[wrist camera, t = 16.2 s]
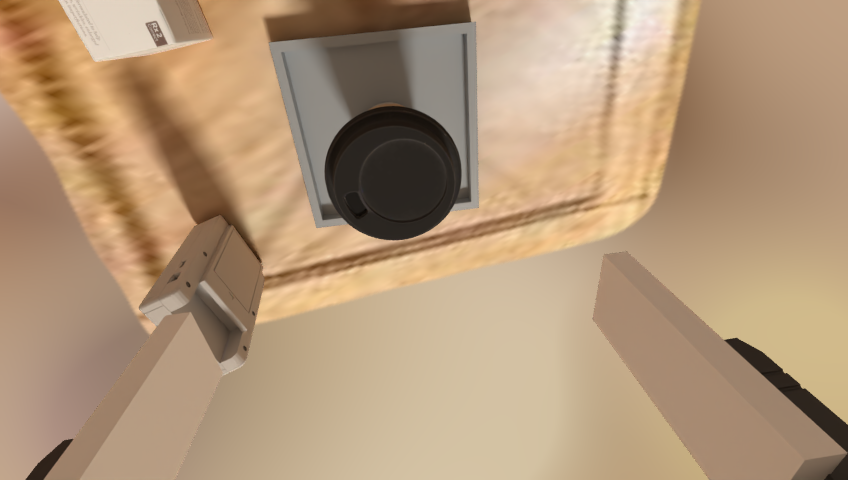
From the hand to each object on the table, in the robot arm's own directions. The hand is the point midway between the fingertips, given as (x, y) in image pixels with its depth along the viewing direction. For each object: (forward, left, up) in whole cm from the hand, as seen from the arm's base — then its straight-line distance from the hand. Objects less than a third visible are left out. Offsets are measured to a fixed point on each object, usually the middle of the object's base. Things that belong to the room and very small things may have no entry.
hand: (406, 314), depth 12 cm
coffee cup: (+1, 0, -29) cm, 29 cm away
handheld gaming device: (+12, -18, -29) cm, 36 cm away
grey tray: (+1, 0, -29) cm, 29 cm away
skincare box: (-11, -17, -29) cm, 36 cm away
